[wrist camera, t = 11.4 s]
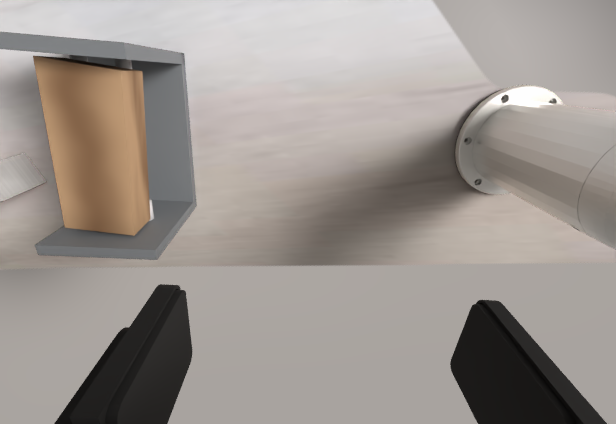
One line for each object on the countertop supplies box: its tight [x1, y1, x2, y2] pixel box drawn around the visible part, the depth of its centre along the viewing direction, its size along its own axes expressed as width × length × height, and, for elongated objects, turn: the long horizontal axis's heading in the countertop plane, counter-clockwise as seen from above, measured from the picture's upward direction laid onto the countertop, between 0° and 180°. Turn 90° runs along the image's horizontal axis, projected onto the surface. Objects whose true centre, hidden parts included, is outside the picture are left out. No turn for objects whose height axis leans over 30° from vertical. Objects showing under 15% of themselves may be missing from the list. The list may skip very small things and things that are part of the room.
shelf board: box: [33, 56, 150, 236], centre depth 26 cm, size 6×14×4 cm, turn 171°
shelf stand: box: [0, 32, 196, 260], centre depth 29 cm, size 10×17×12 cm, turn 176°
